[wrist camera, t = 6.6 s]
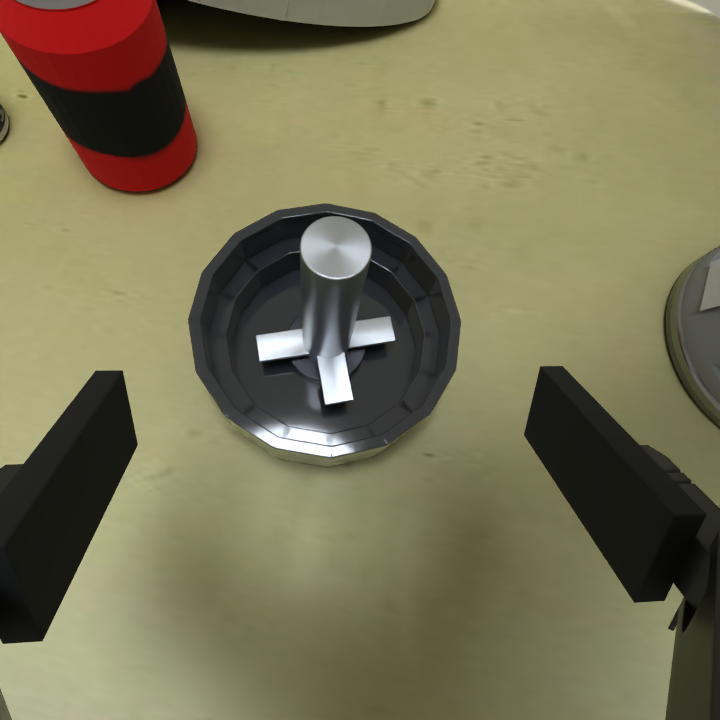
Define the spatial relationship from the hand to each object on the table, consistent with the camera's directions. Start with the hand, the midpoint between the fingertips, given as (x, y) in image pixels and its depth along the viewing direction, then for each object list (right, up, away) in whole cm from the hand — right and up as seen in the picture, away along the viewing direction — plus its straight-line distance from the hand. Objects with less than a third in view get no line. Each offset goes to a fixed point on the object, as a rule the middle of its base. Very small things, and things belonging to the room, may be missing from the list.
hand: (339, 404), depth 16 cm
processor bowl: (-1, +2, +15) cm, 15 cm away
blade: (-1, +2, +15) cm, 15 cm away
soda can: (-14, +16, +18) cm, 28 cm away
